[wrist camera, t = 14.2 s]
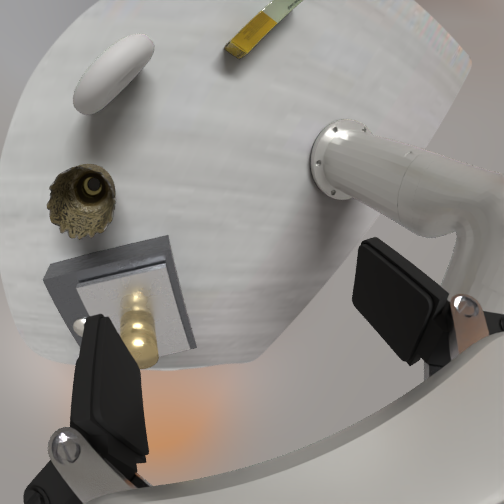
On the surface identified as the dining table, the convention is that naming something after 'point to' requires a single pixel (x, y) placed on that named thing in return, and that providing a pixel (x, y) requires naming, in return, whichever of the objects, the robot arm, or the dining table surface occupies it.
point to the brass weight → (140, 337)
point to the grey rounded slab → (112, 73)
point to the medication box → (259, 26)
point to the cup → (82, 201)
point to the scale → (103, 265)
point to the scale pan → (139, 303)
